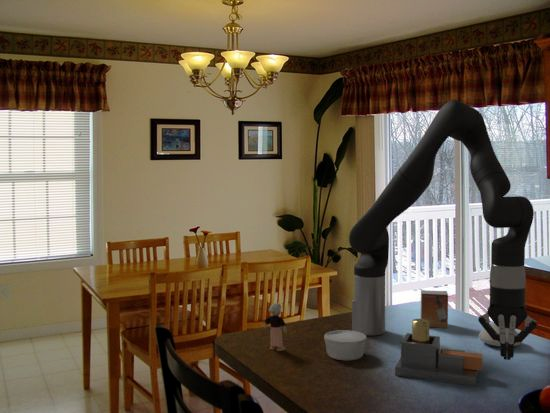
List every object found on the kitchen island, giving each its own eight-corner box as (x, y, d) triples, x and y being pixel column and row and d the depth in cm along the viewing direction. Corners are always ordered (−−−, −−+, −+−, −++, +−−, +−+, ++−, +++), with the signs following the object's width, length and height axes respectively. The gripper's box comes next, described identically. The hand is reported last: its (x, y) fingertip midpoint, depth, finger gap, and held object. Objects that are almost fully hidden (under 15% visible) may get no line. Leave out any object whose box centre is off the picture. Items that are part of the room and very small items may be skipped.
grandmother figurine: (291, 348, 154) (291, 302, 154) (285, 352, 151) (285, 305, 150) (266, 344, 158) (265, 300, 157) (260, 348, 154) (259, 303, 153)
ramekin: (341, 345, 157) (341, 327, 156) (375, 355, 149) (375, 335, 148) (315, 355, 149) (315, 335, 148) (349, 365, 141) (349, 344, 141)
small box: (420, 327, 174) (421, 293, 173) (420, 322, 179) (420, 289, 179) (448, 328, 172) (448, 294, 171) (446, 323, 178) (446, 290, 177)
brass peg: (411, 363, 136) (411, 322, 136) (413, 357, 140) (413, 318, 139) (428, 364, 135) (428, 323, 134) (430, 359, 138) (430, 319, 138)
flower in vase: (502, 353, 149) (504, 259, 147) (469, 341, 159) (470, 253, 157) (536, 345, 155) (538, 255, 153) (502, 334, 165) (503, 250, 163)
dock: (395, 375, 134) (395, 344, 133) (404, 359, 145) (404, 330, 144) (475, 386, 127) (476, 353, 126) (478, 368, 138) (479, 338, 137)
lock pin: (441, 365, 134) (441, 353, 134) (442, 361, 137) (442, 349, 136) (481, 370, 130) (481, 358, 130) (482, 366, 133) (482, 354, 133)
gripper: (538, 282, 129) (537, 356, 131) (477, 279, 135) (477, 350, 136) (540, 289, 123) (539, 367, 124) (475, 285, 128) (475, 360, 129)
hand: (506, 358), depth 130 cm, fingers closed
